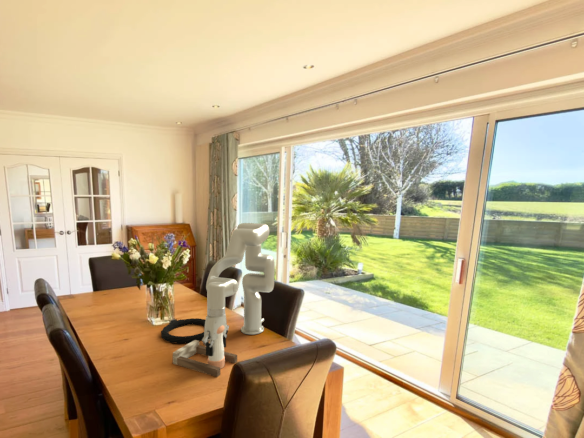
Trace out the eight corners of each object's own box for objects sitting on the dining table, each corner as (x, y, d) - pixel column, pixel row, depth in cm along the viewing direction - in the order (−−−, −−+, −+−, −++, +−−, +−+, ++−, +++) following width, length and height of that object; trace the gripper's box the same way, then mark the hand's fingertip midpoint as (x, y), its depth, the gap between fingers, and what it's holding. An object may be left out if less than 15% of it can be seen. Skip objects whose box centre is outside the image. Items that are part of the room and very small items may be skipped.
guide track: (195, 350, 151) (195, 339, 151) (237, 361, 141) (237, 350, 141) (172, 363, 138) (172, 352, 138) (217, 377, 128) (217, 365, 128)
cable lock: (179, 343, 151) (148, 326, 170) (179, 350, 151) (148, 333, 170) (225, 325, 172) (193, 312, 191) (225, 332, 172) (193, 318, 191)
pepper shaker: (211, 372, 132) (211, 327, 131) (205, 364, 138) (204, 321, 137) (227, 366, 136) (227, 323, 135) (220, 359, 142) (220, 317, 141)
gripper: (221, 304, 145) (221, 341, 146) (195, 316, 129) (195, 357, 130) (235, 306, 142) (235, 344, 143) (209, 319, 126) (209, 362, 127)
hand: (216, 350), depth 137 cm, fingers open, 8 cm apart
